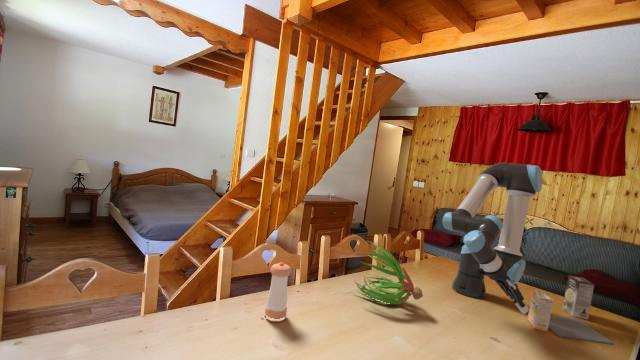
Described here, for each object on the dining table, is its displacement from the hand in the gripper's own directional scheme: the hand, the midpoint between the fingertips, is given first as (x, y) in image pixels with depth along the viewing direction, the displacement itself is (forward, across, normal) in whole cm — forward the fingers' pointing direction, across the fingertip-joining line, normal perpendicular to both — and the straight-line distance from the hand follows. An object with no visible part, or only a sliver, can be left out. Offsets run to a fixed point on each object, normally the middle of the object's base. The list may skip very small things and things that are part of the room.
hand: (525, 311), depth 129 cm
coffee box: (+30, -14, +22) cm, 40 cm away
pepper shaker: (-65, +7, -74) cm, 98 cm away
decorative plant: (-34, -12, -42) cm, 56 cm away
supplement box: (+9, 0, 0) cm, 9 cm away
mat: (+18, 0, +10) cm, 21 cm away
